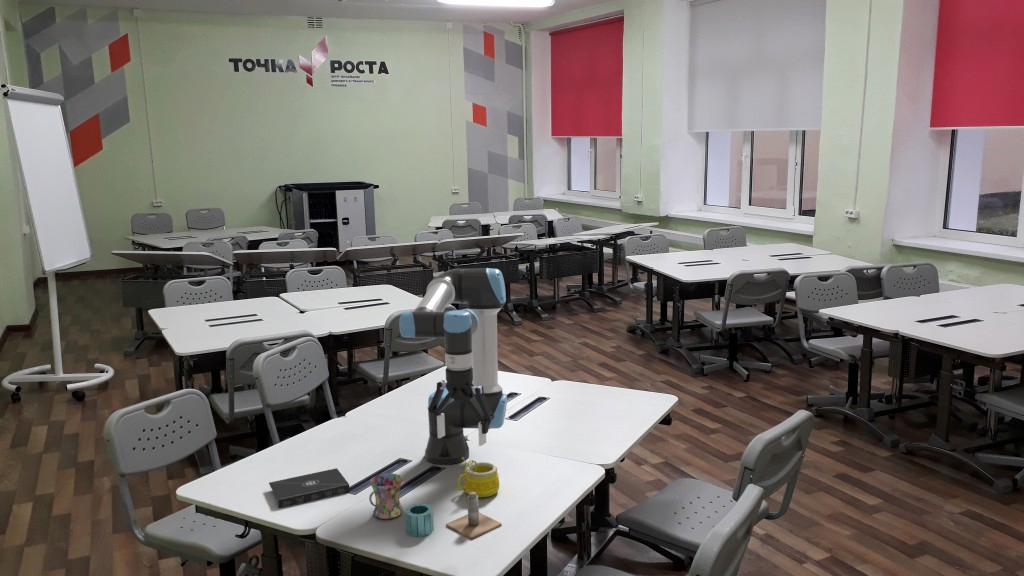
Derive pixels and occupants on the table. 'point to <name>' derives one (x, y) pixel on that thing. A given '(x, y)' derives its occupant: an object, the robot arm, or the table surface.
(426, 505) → the teal slatted pot
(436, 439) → the robot arm
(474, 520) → the peg on square base
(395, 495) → the mug
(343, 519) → the table surface
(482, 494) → the mug
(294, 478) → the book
